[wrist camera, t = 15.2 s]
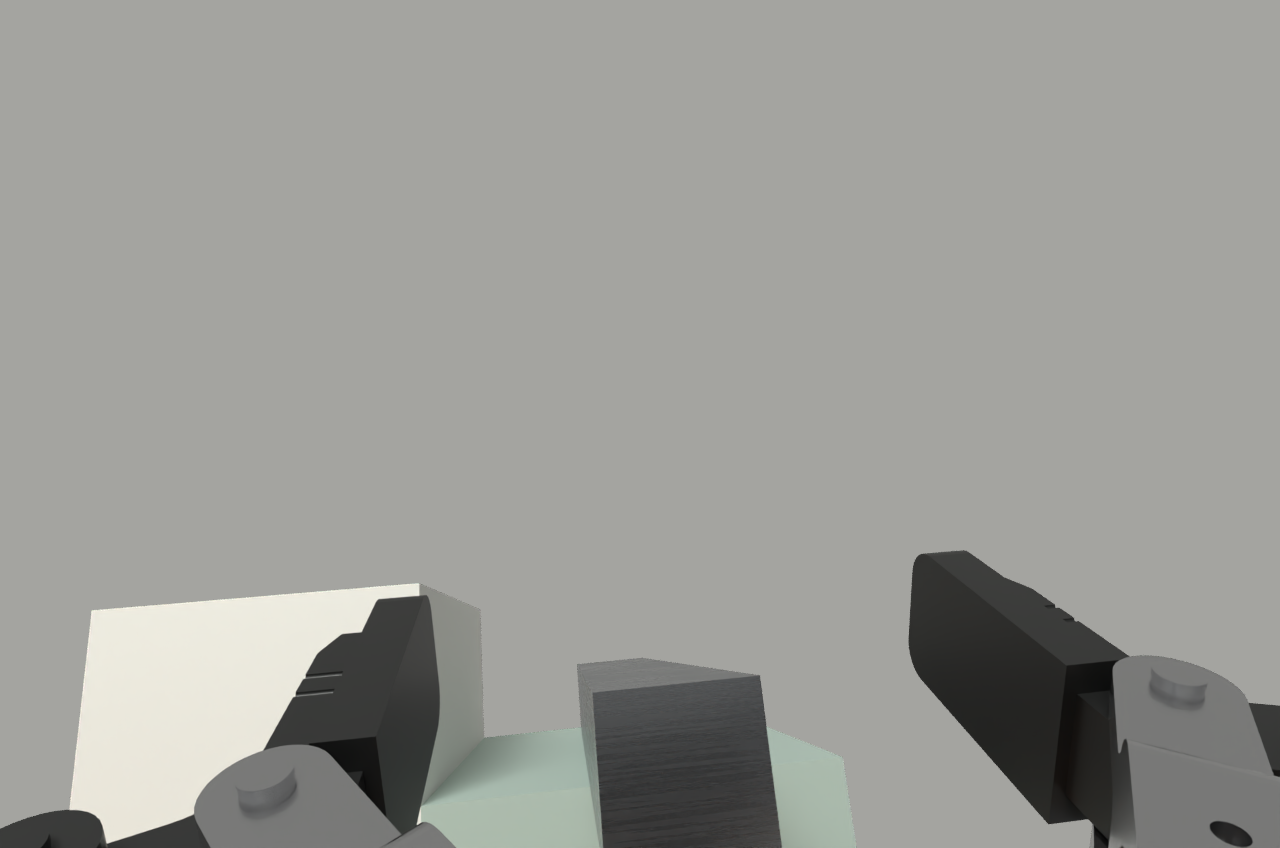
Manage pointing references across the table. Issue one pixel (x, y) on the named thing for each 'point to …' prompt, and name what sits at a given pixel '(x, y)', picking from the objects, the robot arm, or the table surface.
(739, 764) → the steel bar
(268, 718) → the stepped stand
